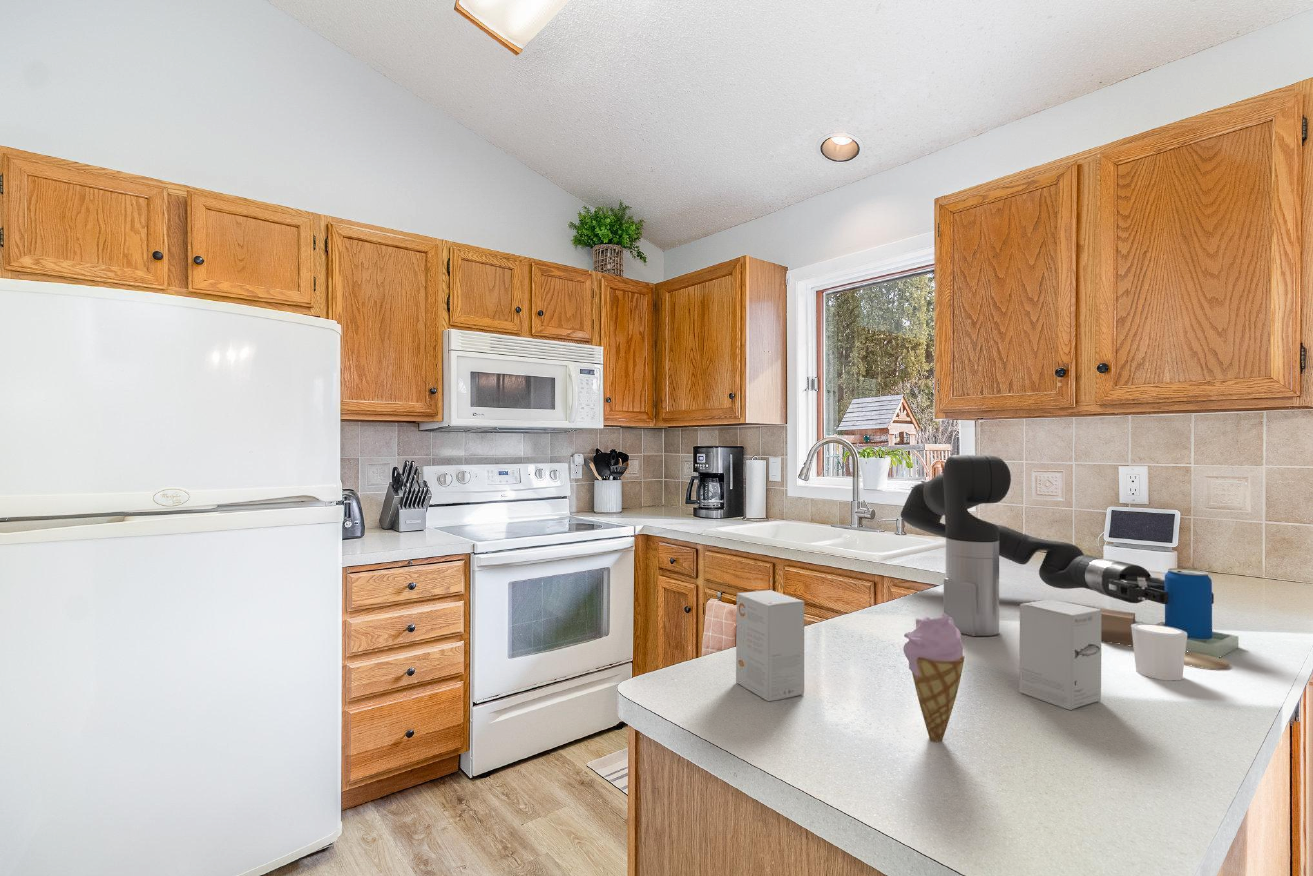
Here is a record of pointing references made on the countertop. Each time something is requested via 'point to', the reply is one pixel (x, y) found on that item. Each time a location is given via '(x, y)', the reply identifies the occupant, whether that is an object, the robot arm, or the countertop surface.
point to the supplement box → (1060, 653)
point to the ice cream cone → (935, 669)
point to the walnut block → (1117, 626)
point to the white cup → (1159, 651)
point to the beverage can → (1189, 603)
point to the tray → (1213, 644)
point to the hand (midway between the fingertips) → (1189, 598)
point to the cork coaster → (1205, 661)
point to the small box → (770, 644)
